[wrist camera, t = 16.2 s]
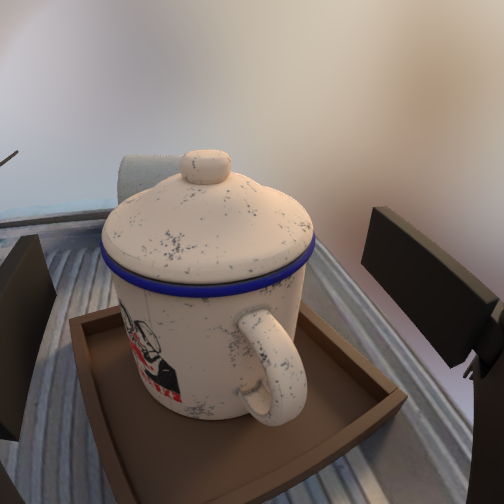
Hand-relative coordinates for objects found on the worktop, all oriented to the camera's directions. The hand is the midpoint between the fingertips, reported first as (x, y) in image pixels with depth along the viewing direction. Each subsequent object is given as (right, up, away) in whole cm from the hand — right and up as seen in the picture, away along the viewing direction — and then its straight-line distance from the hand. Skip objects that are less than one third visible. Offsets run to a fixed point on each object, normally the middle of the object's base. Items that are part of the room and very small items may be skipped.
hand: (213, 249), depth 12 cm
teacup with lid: (0, -7, +5) cm, 9 cm away
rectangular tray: (-1, -8, +5) cm, 9 cm away
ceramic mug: (-9, +4, +24) cm, 26 cm away
